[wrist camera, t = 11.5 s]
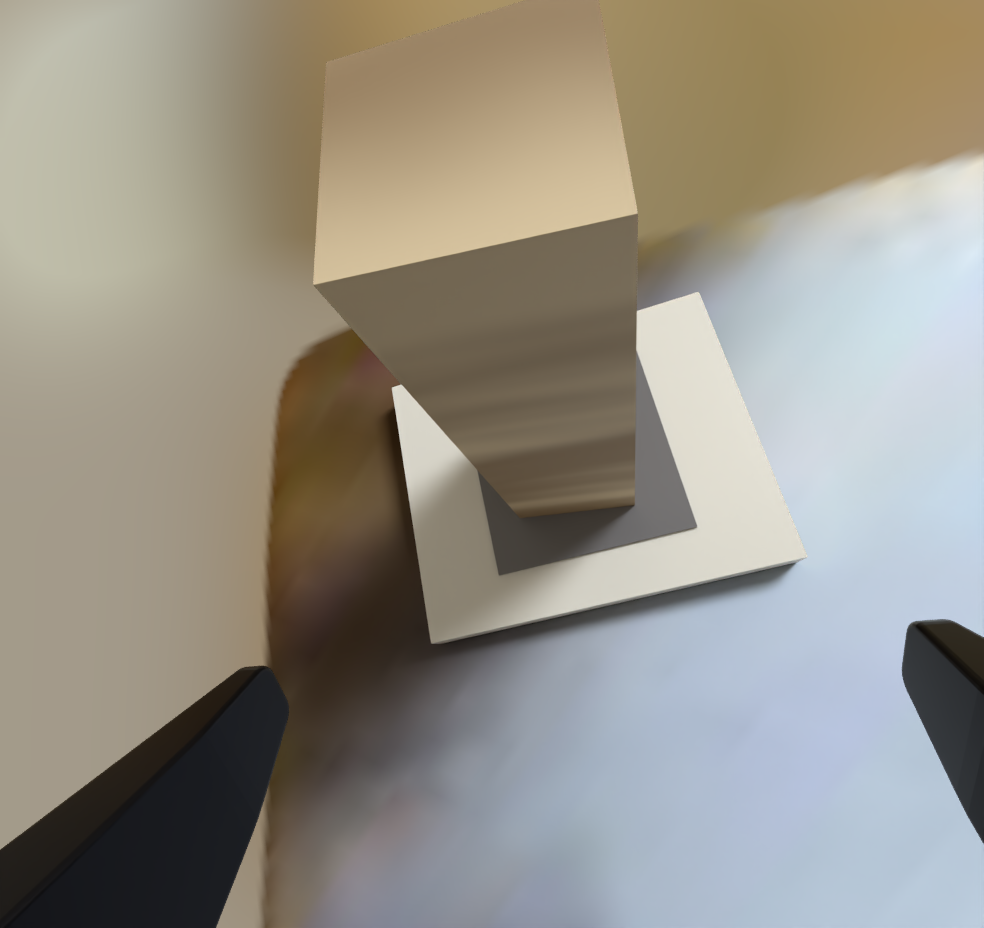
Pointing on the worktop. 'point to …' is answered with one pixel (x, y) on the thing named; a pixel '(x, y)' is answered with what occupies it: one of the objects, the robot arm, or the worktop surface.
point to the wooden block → (493, 243)
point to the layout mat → (612, 531)
